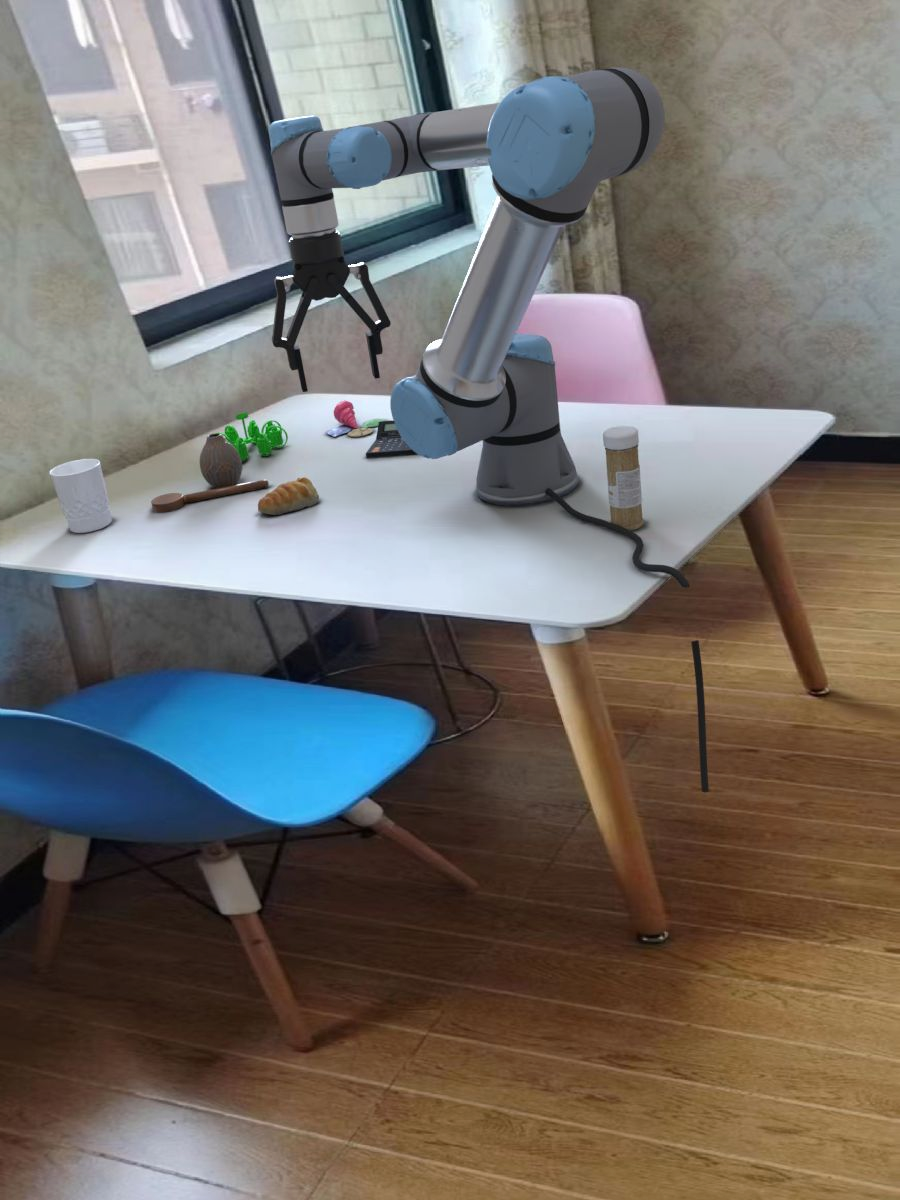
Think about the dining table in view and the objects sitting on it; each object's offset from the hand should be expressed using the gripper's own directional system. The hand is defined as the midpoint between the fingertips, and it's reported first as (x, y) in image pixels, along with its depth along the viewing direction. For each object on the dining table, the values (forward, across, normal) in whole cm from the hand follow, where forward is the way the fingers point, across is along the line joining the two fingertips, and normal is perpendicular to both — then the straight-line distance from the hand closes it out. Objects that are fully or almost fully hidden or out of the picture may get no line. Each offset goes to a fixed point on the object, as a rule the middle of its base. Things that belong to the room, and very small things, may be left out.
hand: (340, 383), depth 175 cm
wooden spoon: (+18, +24, -12) cm, 32 cm away
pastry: (+18, +11, 0) cm, 21 cm away
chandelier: (+18, +16, -35) cm, 43 cm away
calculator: (+18, -10, -21) cm, 29 cm away
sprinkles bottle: (+18, -32, +35) cm, 51 cm away
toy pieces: (+18, -4, -37) cm, 41 cm away
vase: (+18, +21, -18) cm, 33 cm away
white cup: (+18, +43, -10) cm, 48 cm away
